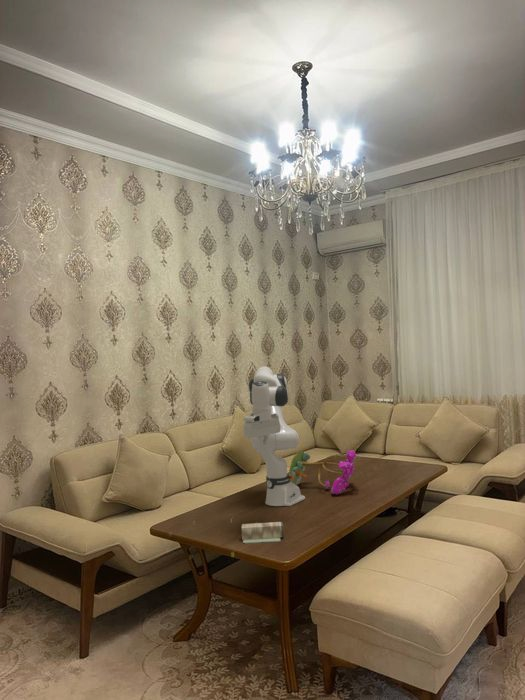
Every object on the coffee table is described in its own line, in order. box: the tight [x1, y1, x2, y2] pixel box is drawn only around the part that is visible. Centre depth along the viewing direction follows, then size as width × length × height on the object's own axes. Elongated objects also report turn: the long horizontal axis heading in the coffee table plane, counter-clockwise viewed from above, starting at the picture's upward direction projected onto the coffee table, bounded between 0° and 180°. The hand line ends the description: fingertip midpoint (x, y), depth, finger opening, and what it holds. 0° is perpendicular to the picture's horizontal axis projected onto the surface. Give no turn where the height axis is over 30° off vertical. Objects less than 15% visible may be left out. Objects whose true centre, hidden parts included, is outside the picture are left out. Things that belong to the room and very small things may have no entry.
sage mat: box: [242, 537, 281, 544], centre depth 230 cm, size 16×12×1 cm
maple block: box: [241, 521, 284, 540], centre depth 230 cm, size 5×5×18 cm
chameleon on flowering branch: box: [287, 449, 357, 495], centre depth 299 cm, size 30×28×35 cm
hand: (263, 444), depth 248 cm, fingers closed
